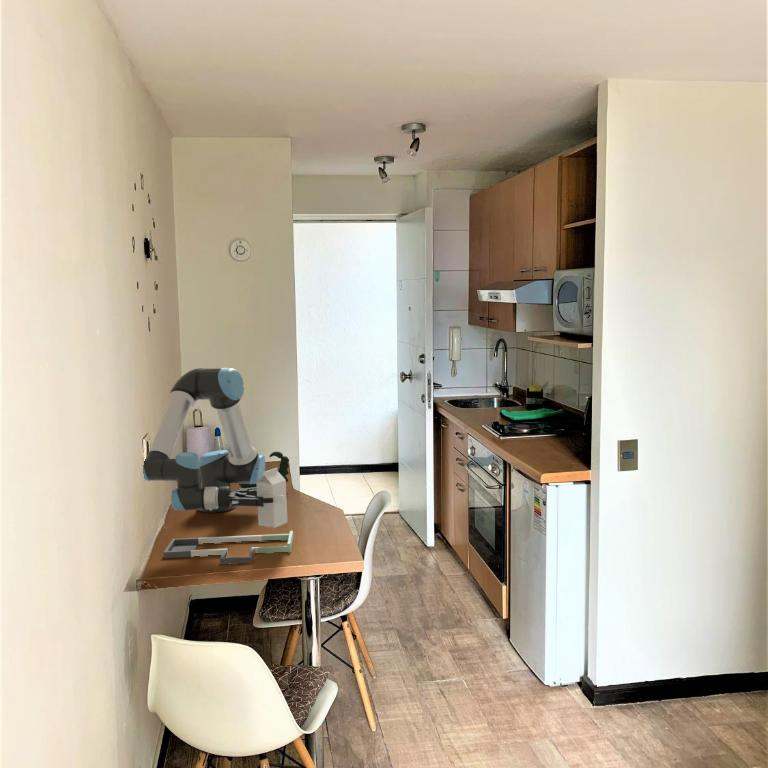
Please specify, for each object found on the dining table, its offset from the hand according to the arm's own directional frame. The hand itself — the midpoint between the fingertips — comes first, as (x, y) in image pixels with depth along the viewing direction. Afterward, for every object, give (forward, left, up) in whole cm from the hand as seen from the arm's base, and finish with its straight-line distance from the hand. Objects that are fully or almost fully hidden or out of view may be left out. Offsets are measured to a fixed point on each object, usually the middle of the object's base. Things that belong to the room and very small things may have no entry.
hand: (284, 495), depth 262 cm
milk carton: (0, -4, -10) cm, 11 cm away
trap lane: (+4, -19, -18) cm, 27 cm away
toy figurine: (-74, -17, -18) cm, 78 cm away
